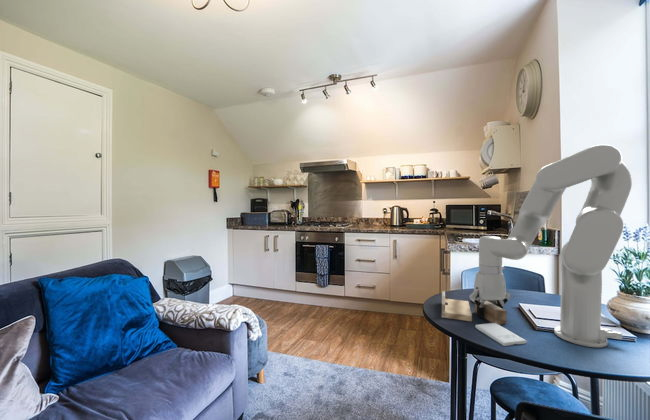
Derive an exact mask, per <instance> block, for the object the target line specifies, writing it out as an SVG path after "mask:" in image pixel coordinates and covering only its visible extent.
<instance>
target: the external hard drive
mask: <svg viewBox="0 0 650 420" xmlns="http://www.w3.org/2000/svg"><path fill="white" fill-rule="evenodd" d="M475 329H477V330H478V331H480V332H481V333H483V334H484V335H485V336H487V337H489V338H491V339H492V340H494V341H495V342H497V343H499V344H500V345H502V346H503V347H504V346H505V347H507V346H513V345H522V344H523V345H524V344H528V340H527V339H524V338H523V337H521V336H519V335H517V333H514V332H512V331H511V330H510V329H509V330H508V329H507V328H506V327H503V326H501V324H497V323H491V322H489V323H481V324H475Z"/></svg>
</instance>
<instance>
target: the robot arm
mask: <svg viewBox="0 0 650 420" xmlns="http://www.w3.org/2000/svg"><path fill="white" fill-rule="evenodd" d="M622 159H623V155H622V152H621V151H620V149H618V148H617V147H615V146H613V145H610V144H605V143H604V144H596V145H592V146H590V147H587V148H585V149H583V150H581V151H578V152H576V153H574V154H571V155H569V156H567V157H564V158H561V159H560V160H557V161H555V162H552V163H550V164H547V165H545V166H543V167H542V168H540V169H539V171H537V173H536V176H535V177H536V178H535V180H534V183H532V186H531V188H530V189H529V192H528V193H527V195H526V197H525V199H524V201H523V202H522V205H521V206H520V209H519V212H518V217H517V219H516V222H515V223H514V225H513V228H512V230H511V231H510V233H509V235H508V237H507V238H501V237H500V236H495V235H483V236H480V238H479V239H478V271H476V274H475V277H474V284H473V285H474V286H473V292H471V293H470V294H469V299H470V300H471V301H472V302H473V303H474V305H475V304H476V305H477V313H476V315H477V316H478V317H479V318H481V319H485V318H484V308H483V305H484V303H485V301H489V300H496V302H497V304H496V306H498V307H500V308H502V309H504V307H505V306H506V303H508V301H509V299H511V297H512V295H511V294H510V293H509V292H508V291H507V288H506V287H507V286H506V279H505V274H504V273H503V270H505V266H504V265H503V259H507V260H512V261H516V260H517V261H519V260H521V259H523V258H525V256H527V254H528V252H529V250H530V247H531V246H532V244H533V242H534V240H535V239H536V238H537V235H538V234H539V232H540V231H541V229H542V228H543V226H544V225H545V224H546V222H547V221H548V220H549V218H550V216H551V215H552V213H553V211H554V210H555V207H556V206H557V205H558V203H559V201H560V199H561V198H562V196H563V195H564V192H565V190H566V189H567V188H571V187H572V186H575V185H578V184H581V183H585V182H587V181H589V180H591V186H590V188H589V191H588V193H587V196H586V199H585V201H584V203H583V205H582V208H581V210H579V211H580V212H579V213H578V215H576V219H575V226H574V229H573V230H572V233H571V234H570V238H569V239H568V241H567V242H566V243H565V244H564V245H563V246H562V248H561V253H560V262H561V265H560V268H561V269H560V270H561V271H560V272H561V274H560V275H561V277H560V315H559V316H560V322H559V323H560V324H559V325H557V326H555V327H554V329H553V331H554V334H555V335H556V336H557V337H559V338H560V339H562V340H564V341H567V342H569V343H572V344H576V345H579V346H583V347H588V348H604V347H607V346H608V339H609V338H612V339H615V340H616V339H617V340H623V334H622V332H618V331H613V330H612V329H610V328H604V327H602V326H601V324H602V323H601V322H602V293H603V292H602V291H603V287H602V286H603V274H602V273H603V270H604V269H605V268H606V266H607V265H608V263H609V261H610V259H611V257H612V255H613V253H614V251H615V249H616V246H617V245H618V243H619V241H620V238H621V236H622V233H623V230H624V220H623V218H622V217H621V214H622V213H623V211H624V208H625V205H626V203H627V200H628V198H629V196H630V192H631V190H632V185H633V181H632V180H633V178H632V175H631V171H630V170H629V168H628V167H627V165H626V164H625V162H623V161H622ZM475 297H478V298H477V299H476V298H475ZM480 301H481V302H480Z"/></svg>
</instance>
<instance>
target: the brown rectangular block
mask: <svg viewBox="0 0 650 420" xmlns="http://www.w3.org/2000/svg"><path fill="white" fill-rule="evenodd" d="M480 302H481V301H480ZM483 308H484V318H483V319H484V320H487V321H489V323H497V324H498V325H507V312H508V311H507V309H504V308H503V309H502V308H500V307H498V306H496V305H495V304H493V303H491V302H489V301H485V303H484V305H483ZM474 313H475V314H477V305H476V304H475V303H474Z"/></svg>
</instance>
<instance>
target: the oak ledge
mask: <svg viewBox="0 0 650 420" xmlns="http://www.w3.org/2000/svg"><path fill="white" fill-rule="evenodd" d="M441 318H443V319H444V318H446V319H452V320H458V321H467V322H472V321H473V315H472V311H471V307H470V302H469V300H462V299H452V298H449V297H448V295H446V291H445V290H442V291H441Z"/></svg>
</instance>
